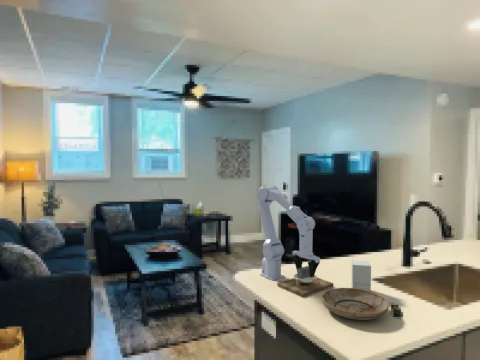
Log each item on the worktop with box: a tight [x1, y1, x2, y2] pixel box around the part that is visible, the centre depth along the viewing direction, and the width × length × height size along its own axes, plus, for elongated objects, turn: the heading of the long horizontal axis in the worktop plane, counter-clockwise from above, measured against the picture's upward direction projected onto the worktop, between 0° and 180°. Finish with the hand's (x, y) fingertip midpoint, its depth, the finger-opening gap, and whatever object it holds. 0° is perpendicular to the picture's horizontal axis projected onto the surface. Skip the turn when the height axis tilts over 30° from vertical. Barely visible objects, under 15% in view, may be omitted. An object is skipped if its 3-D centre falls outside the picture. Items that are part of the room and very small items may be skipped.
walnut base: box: [277, 277, 334, 298], centre depth 147 cm, size 15×20×5 cm
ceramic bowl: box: [321, 287, 390, 321], centre depth 122 cm, size 23×24×5 cm
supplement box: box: [351, 259, 372, 292], centre depth 141 cm, size 7×7×13 cm
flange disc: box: [293, 265, 320, 284], centre depth 146 cm, size 12×10×5 cm
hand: (305, 274), depth 147 cm, fingers open, 7 cm apart
